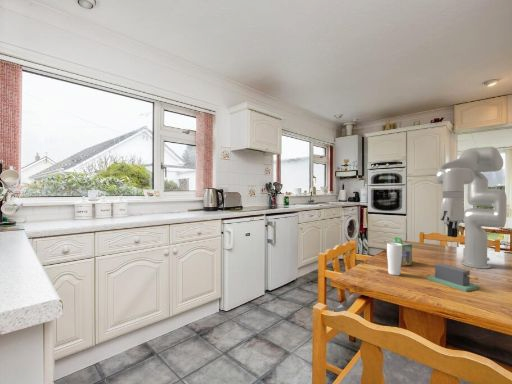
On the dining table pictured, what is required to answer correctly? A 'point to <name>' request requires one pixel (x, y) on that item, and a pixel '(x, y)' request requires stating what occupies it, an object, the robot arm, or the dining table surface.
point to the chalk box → (405, 252)
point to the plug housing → (453, 274)
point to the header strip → (463, 288)
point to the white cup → (394, 258)
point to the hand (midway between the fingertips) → (452, 236)
